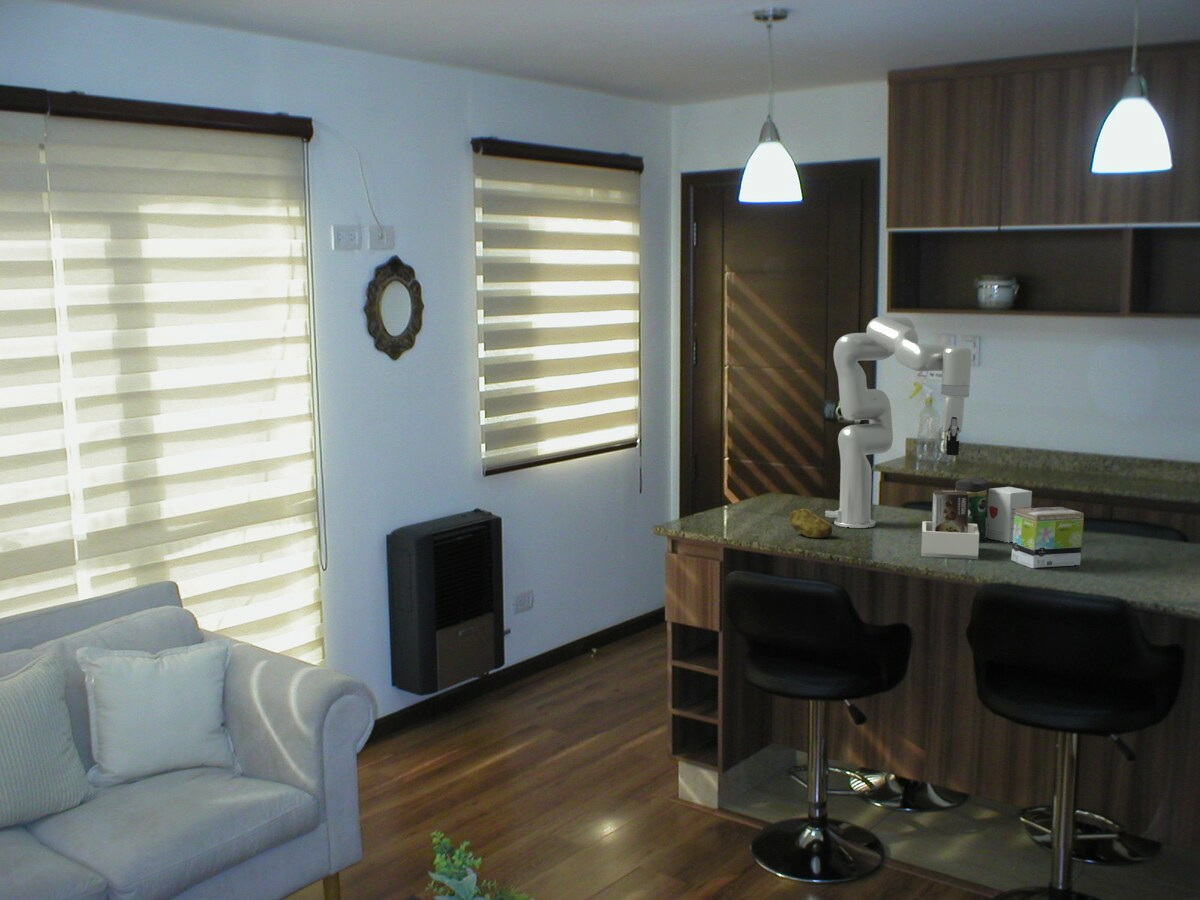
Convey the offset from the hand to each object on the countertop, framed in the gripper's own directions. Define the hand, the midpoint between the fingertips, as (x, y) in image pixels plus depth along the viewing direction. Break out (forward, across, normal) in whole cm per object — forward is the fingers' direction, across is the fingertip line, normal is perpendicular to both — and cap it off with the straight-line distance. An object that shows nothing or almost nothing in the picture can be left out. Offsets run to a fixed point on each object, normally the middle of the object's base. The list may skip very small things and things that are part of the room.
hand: (952, 452), depth 327 cm
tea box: (+28, +8, +26) cm, 39 cm away
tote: (+28, +1, +1) cm, 28 cm away
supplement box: (+29, -22, +18) cm, 40 cm away
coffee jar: (+29, -19, +7) cm, 35 cm away
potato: (+29, -11, -39) cm, 50 cm away
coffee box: (+28, 0, 0) cm, 28 cm away
